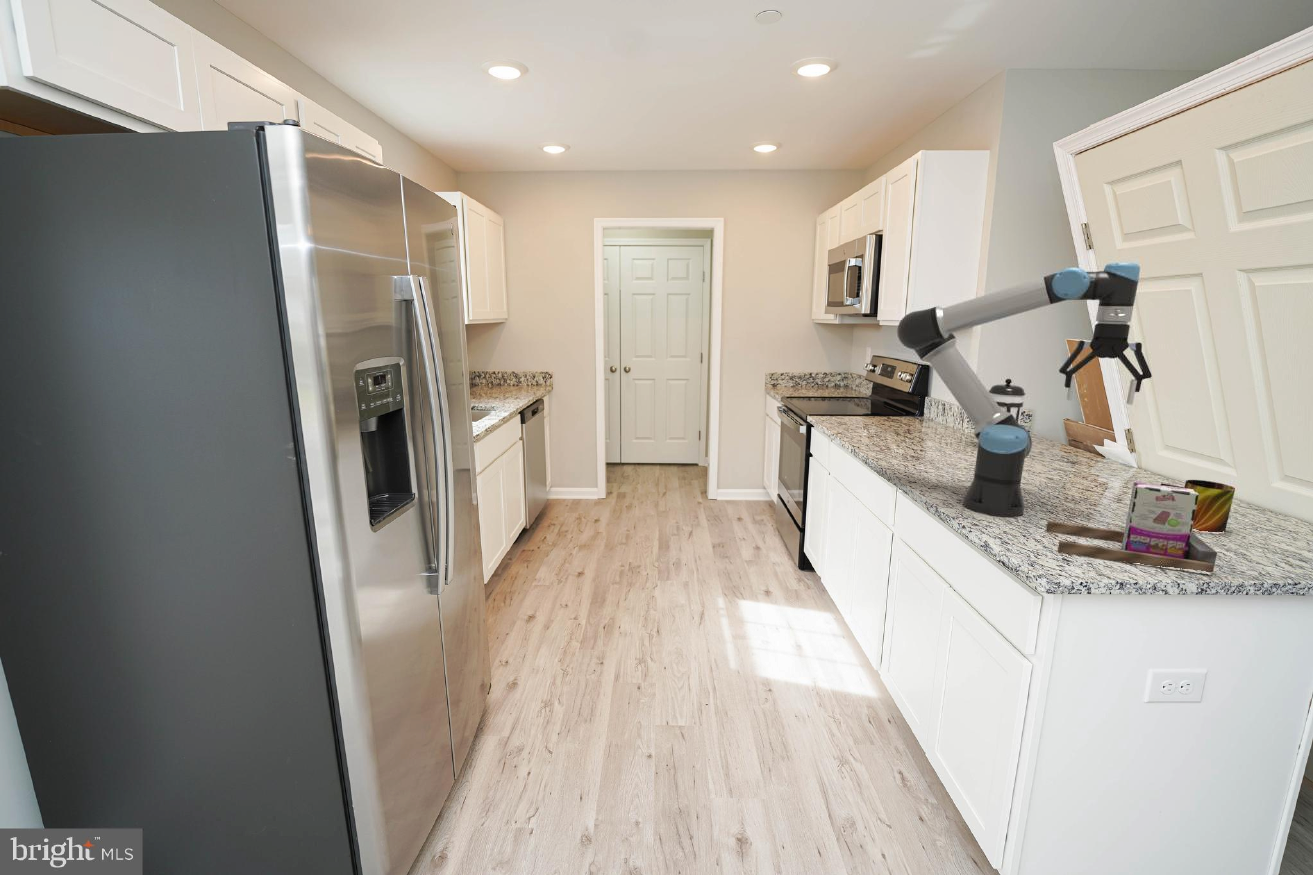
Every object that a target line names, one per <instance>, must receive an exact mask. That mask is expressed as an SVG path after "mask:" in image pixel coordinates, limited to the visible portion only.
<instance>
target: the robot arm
mask: <svg viewBox="0 0 1313 875" xmlns="http://www.w3.org/2000/svg"><path fill="white" fill-rule="evenodd" d="M1140 269H1141V266H1140V265H1139V264H1138V263H1137V262H1136V263H1135V262H1111V263H1106V265H1105V267H1104V269H1103V270H1099V271H1097V270H1096V271H1085V269H1082V268H1080V267H1073V266H1071V267H1067V268H1064V269H1061V270H1060V271H1058V272H1053V273H1051V274H1049V275H1046V276H1042V277H1039V278H1035V279H1032V280H1029V281H1025V282H1023V283H1019V284H1016V285H1013V286H1009V287H1007V288H1003V289H1000V290H996V291H994V292H990V293H988V294H984V295H981V296H978V297H974V298H972V299H968V300H966V301H962V302H958V303H956V304H953V305H948V306H946V307H941V306H939V305H938V306H934V307H931V308H926V309H922V310H916V311H911V312H909V313H907V314H906V315H904V316H903V317H902V318H901V320H900V321H899V323H898V325H897V328H896V329H897V330H896V333H897V338H898V340H899V342H900V343H901V344H902V345H903V347H905V348H907V349H911V350H913V351H915V353H916V356H918V357H919V359H920V360H921V361H922V362H925V363H926V362H927V363H928V364H930V365H931V367H932V368H933V369H934V371H935V372H936V374H937V375H938V376H939V378H940V380H941V381H942V382H943V383H944V384H945V386H946V388H947V389H948V391H950V393H951V394H952V396H953V397H954V399H955V400H956V402H957V403H958V404H959V406H960V407H961V409H962V410H963V412H964V413H965V414H966V416H967V418H969V420H970V421H971V423H972V425H974V430H973V435H974V436H975V437H976V440H978V445H977V447H978V448H977V453H976V460H975V466H974V474H973V479H972V481H971V484H969V487H968V489H967V491H966V493H965V494H964V497H963V506H964V507H966V508H968V509H970V510H972V511H974V512H977V513H980V514H985V515H991V516H998V517H1006V518H1007V517H1009V518H1010V517H1011V518H1012V517H1020V516H1022V515H1024V510H1025V500H1024V497H1023V493H1022V488H1021V483H1022V482H1021V481H1022V477H1023V471H1024V465H1025V459H1026V458H1027V457H1028V456H1029V455H1030V452H1031V450H1032V446H1033V439H1032V437H1031V434H1030V432H1029V431H1028V430H1027V429H1026V428H1025V427H1024V426H1022V424H1019V423H1018V422H1017V421H1016V419H1015V418H1014V417H1013V415H1012V414H1011V413H1008V412H1004V411H1002V410H1001V408H1000V407H999V406H998V404H997V403H996V401H995V400H994V399H993V397H992V396H991V395H990V393H989V390H988V389H987V388H986V386H985V385H984V384H983V383H982V381H981V380H980V378H979V376H978V375H977V374H976V373H975V371H974V370H973V369H972V367H971V366H970V365H969V363H968V362H967V360H966V359H965V357H964V356H963V355H962V353H961V352H960V351H959V349H958V348H957V347H956V343H957V340H958V339H957V337H956V336H955V335H954V333H956V332H957V333H958V332H960V331H964V330H966V329H971V328H973V327H977V326H980V325H984V324H987V323H991V322H995V321H997V320H1002V319H1005V318H1009V317H1013V316H1015V315H1016V316H1017V315H1020V314H1023V313H1025V312H1026V313H1027V312H1029V311H1032V310H1036V309H1040V308H1043V307H1047V306H1050V305H1054V304H1058V303H1062V302H1065V301H1098V306H1097V312H1096V316H1095V317H1096V318H1095V322H1097V323H1096V324H1095V325H1094V328H1093V329H1094V330H1093V334H1092V335H1093V336H1092V340H1090V341H1084V340H1078V341H1077V345H1076V347H1075V349H1074V350H1073V352H1072V353H1071V354H1070V356H1068V358H1067V359H1066V361H1065V362H1064V363H1063V364H1062V365H1061V367H1060V368H1059V369H1058V372H1059V373H1060V374H1063V375H1064V376H1065V380H1064V387H1065V388H1067V395H1066V400H1068V401H1072V400H1073V395H1074V394H1073V393H1074V388H1075V384H1076V382H1075V381H1076V376H1074V375H1075V374H1076V373H1077V372H1078V371H1080V370H1081V369H1082V368H1084V367H1085V366H1086V365H1087V364H1088V363H1090V362H1091V361H1092V360H1093V359H1096V358H1099V359H1106V358H1107V359H1108V358H1109V359H1118V360H1119V361H1120V362H1121V363H1122V364H1123V366H1124V367H1125V368H1126V369H1127V370H1128V372H1129V373H1130V374H1131V376H1132V377H1133V378H1134V379H1133V378H1131V379H1130V382H1129V387H1128V394H1127V398H1126V399H1127V400H1126V404H1127V405H1130V406H1131V405H1133V404H1134V399H1135V393H1140V391H1141V386H1142V383H1143V382H1142V381H1143V380H1145V379H1151V378H1152V377H1153V375H1152V372H1151V370H1150V368H1149V365H1148V363H1147V361H1146V358H1145V356H1144V353H1143V349H1142V348H1143V344H1142V342H1139V341H1136V342H1128V341H1129V340H1128V339H1129V334H1130V328H1131V325H1130V324H1128V323H1131V321H1132V317H1133V311H1134V306H1135V305H1134V304H1135V300H1136V296H1137V290H1138V286H1139V281H1140V280H1139V279H1140V271H1141V270H1140ZM1087 347H1089V348H1090V349H1091V352H1089V353H1088V354H1087V355H1086V356H1085V357H1084V358H1082V359H1081V360H1080V361H1079V362H1077V363H1076V364H1075V365H1073V367H1071V365H1072V364H1073V362H1074V361H1075V360H1076V359H1077V358H1078V356H1079V355H1080V354H1081V353H1082V351H1083V350H1086V349H1087ZM1127 349H1130V351H1132V352H1133V353H1134V356H1135V358H1136V361H1137V363H1138V366H1139V368H1140V371H1141V373H1142V374H1141V373H1140V372H1139V371H1138V369H1137V368H1136V367H1135V365H1134V364H1132V362H1131V361H1130V359H1129V358H1128V356H1127V355H1126V354H1125V353H1124V352H1126V350H1127ZM1070 367H1071V368H1070ZM1069 368H1070V369H1069ZM1068 369H1069V370H1068Z"/></svg>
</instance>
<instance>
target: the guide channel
mask: <svg viewBox="0 0 1313 875" xmlns="http://www.w3.org/2000/svg"><path fill="white" fill-rule="evenodd" d="M1046 532H1047V533H1053V534H1054V533H1055V534H1061V533H1062V535H1068V536H1069V535H1070V536H1075V537H1081V536H1082V537H1084V538H1088V539H1089V538H1090V539H1096V540H1104V541H1111V542H1117V543H1123V538H1124V532H1125V530H1116V529H1108V528H1101V527H1094V526H1087V525H1079V524H1073V523H1066V522H1059V521H1052V520H1047V523H1046ZM1057 552H1058V553H1060V552H1063V553H1062V554H1066V553H1069V554H1068V555H1073V554H1076V555H1075V556H1079V555H1081V556H1080V557H1086V556H1088V558H1093V559H1099V558H1100V560H1106V561H1112V560H1113V562H1118V561H1126V562H1130V563H1129V564H1131V563H1140V564H1144V565H1153V566H1160V567H1161V566H1162V567H1174V568H1180V569H1181V568H1182V569H1193V570H1201V571H1206V572H1213V573H1214V568H1215V565H1216V560H1217V556H1218V552H1217V551H1216V550H1215V549H1213V547H1211V546H1210V545H1208V544H1207V543H1206V542H1205V541H1203V539H1201V538H1200V537H1198V536H1197V535H1196V534H1195V533H1193V531H1191V536H1190V541H1189V546H1188V551H1187V556H1186V559H1181V558H1174V557H1167V556H1160V555H1154V554H1147V553H1140V552H1133V551H1127V550H1124V549H1118V548H1114V547H1113V548H1111V547H1105V546H1100V545H1099V546H1098V545H1093V544H1086V543H1085V544H1084V543H1078V542H1072V541H1071V542H1070V541H1065V540H1058V546H1057ZM1144 565H1143V566H1144Z"/></svg>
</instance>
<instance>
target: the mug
mask: <svg viewBox="0 0 1313 875" xmlns="http://www.w3.org/2000/svg"><path fill="white" fill-rule="evenodd" d="M1160 485H1162V486H1171V487H1179V488H1187V489H1194V491H1196V492H1197V493H1198V494H1199V496H1198V502H1197V506H1196V512H1195V516H1194V521H1193V525H1192V529H1196V530H1199V531H1208V532H1223V531H1225V532H1226V530H1227V525H1228V520H1229V517H1230V513H1231V507H1232V504H1233V501H1234V500H1233V499H1234V496H1235V490H1236V487H1234V486H1231V485H1229V484H1225V483H1222V482H1215V481H1209V480H1201V479H1187V480H1185V483H1184V486H1178V485H1174V484H1167V483H1160Z"/></svg>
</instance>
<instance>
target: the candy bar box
mask: <svg viewBox="0 0 1313 875" xmlns="http://www.w3.org/2000/svg"><path fill="white" fill-rule="evenodd" d="M1179 487H1180V486H1179ZM1179 487H1171V486H1162V485H1161V484H1153V483H1152V484H1151V483H1145V482H1144V483H1142V482H1134V481H1133V483H1132V488H1131V492H1130V499H1129V504H1128V511H1127V516H1126V523H1125V528H1124V531H1125V532H1124V538H1123V542H1121V543H1122V544H1121V547H1122V550H1127V551H1133V552H1140V553H1147V554H1154V555H1160V556H1167V557H1174V558H1181V559H1186V556H1187V551H1188V546H1189V541H1190V536H1191V532H1193V531H1192V525H1193V521H1194V516H1195V512H1196V506H1197V502H1198V496H1199V494H1198V493H1197V492H1196V491H1194V489H1187V488H1179Z"/></svg>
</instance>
